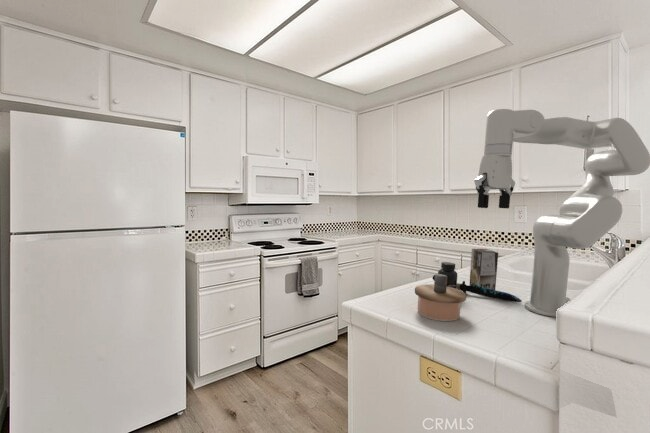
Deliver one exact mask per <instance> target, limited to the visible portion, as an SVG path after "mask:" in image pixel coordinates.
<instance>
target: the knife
mask: <svg viewBox="0 0 650 433" xmlns="http://www.w3.org/2000/svg"><path fill="white" fill-rule="evenodd" d="M432 280H433V282H434V281H435V274H433V276H432ZM469 285H470V284H469ZM469 285H468V284H466V281H465V280H463V281H462V282H461V283H458V282H457V287H456V289H458V290H461V291H463V292H464V293H465V294H466V295H467V292H468V293H472V294H474V295H477V296H483V297H485V298H486V297H487V298H491V299H496V300H499V301H506V302H511V303H522V302H523V301H522V299H520V298H519V297H518V296H516V295H514V294H511V293H509V292H504V291H499V290H496V289H495V290H491V289H487V288H483V287H480V286H478V285H475V284H474V283H472V285H470V286H469Z"/></svg>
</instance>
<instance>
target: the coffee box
mask: <svg viewBox="0 0 650 433" xmlns="http://www.w3.org/2000/svg"><path fill="white" fill-rule="evenodd" d="M470 257H471V258H470V268H469V269H470V270H469V271H470V273H469V285H468V286H470V285H472V283H474V284H475V285H478V286H480V287H483V288H487V289H491V290H496V285H497V275H498V274H497V272H498V264H499V263H498V262H499V261H498V260H499V252H496V251H494V250H491V249H489V248H471V256H470Z"/></svg>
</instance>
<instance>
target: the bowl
mask: <svg viewBox="0 0 650 433" xmlns="http://www.w3.org/2000/svg"><path fill="white" fill-rule="evenodd" d="M417 296H418V295H417ZM417 299H418V300H417V312H418V314H419V315H421V316H422V317H423V318H426V319H430V320H433V321H437V322H454V321H457V320H459V319H460V316H461V305H462V302H460V303H442V302H435V301H431V300H427V299H424V298H421V297H419V296H418V298H417Z"/></svg>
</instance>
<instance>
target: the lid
mask: <svg viewBox="0 0 650 433" xmlns="http://www.w3.org/2000/svg"><path fill="white" fill-rule="evenodd" d="M434 275H435V281H434V280H433V282H434V283H433V284H420V285H417V286H416V287H415V288H414V293H415V295H416V296H419V297H421V298H424V299H427V300H431V301H435V302H442V303H460V302H461V303H463V302H465V301H467V293H466V294H465V293H464V292H463V291H461V290H458V289H455V288H452V287H447V276H446V275H442V274H438V273H436V274H434Z"/></svg>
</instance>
